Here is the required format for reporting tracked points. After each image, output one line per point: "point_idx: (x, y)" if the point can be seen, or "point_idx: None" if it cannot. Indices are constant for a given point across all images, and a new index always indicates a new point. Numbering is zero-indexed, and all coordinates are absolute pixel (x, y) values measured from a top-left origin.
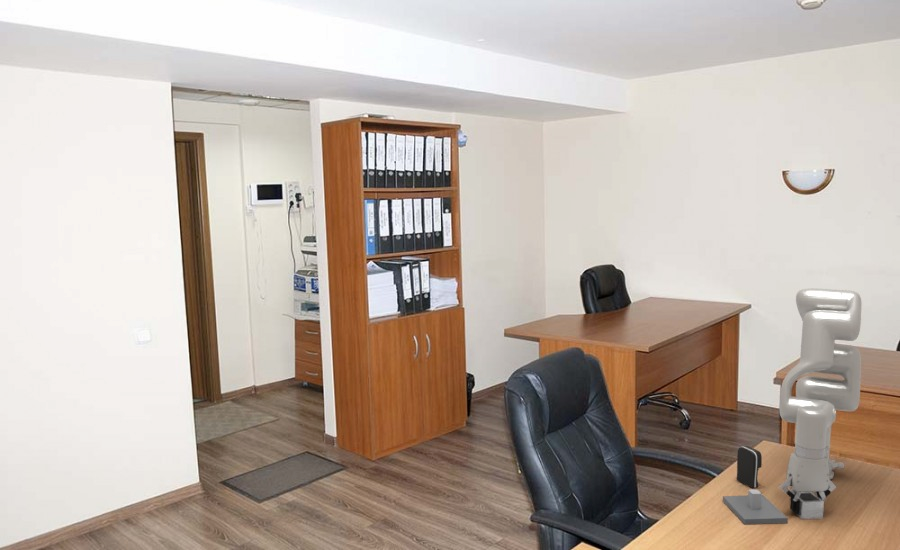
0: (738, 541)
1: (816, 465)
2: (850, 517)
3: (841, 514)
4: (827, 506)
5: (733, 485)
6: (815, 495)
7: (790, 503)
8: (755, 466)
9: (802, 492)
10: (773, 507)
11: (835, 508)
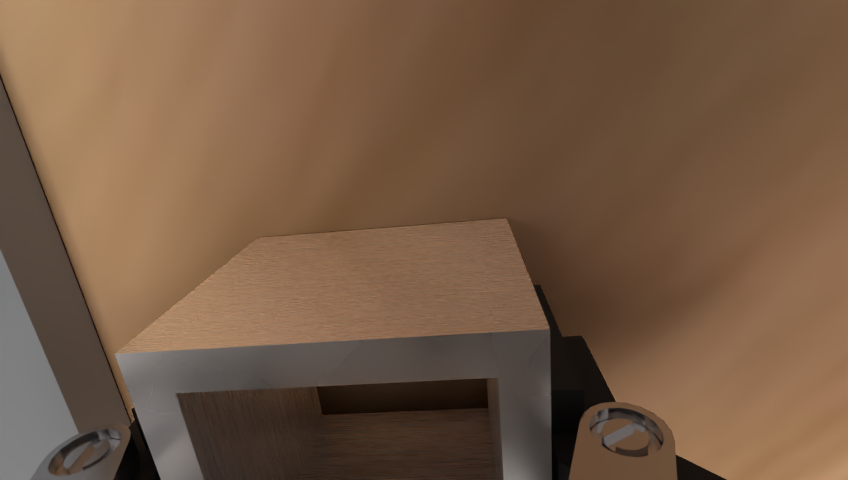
0: None
1: None
2: (824, 410)
3: (775, 352)
4: (753, 161)
5: None
6: (533, 468)
7: None
8: None
9: (334, 362)
10: (8, 351)
11: (819, 214)
